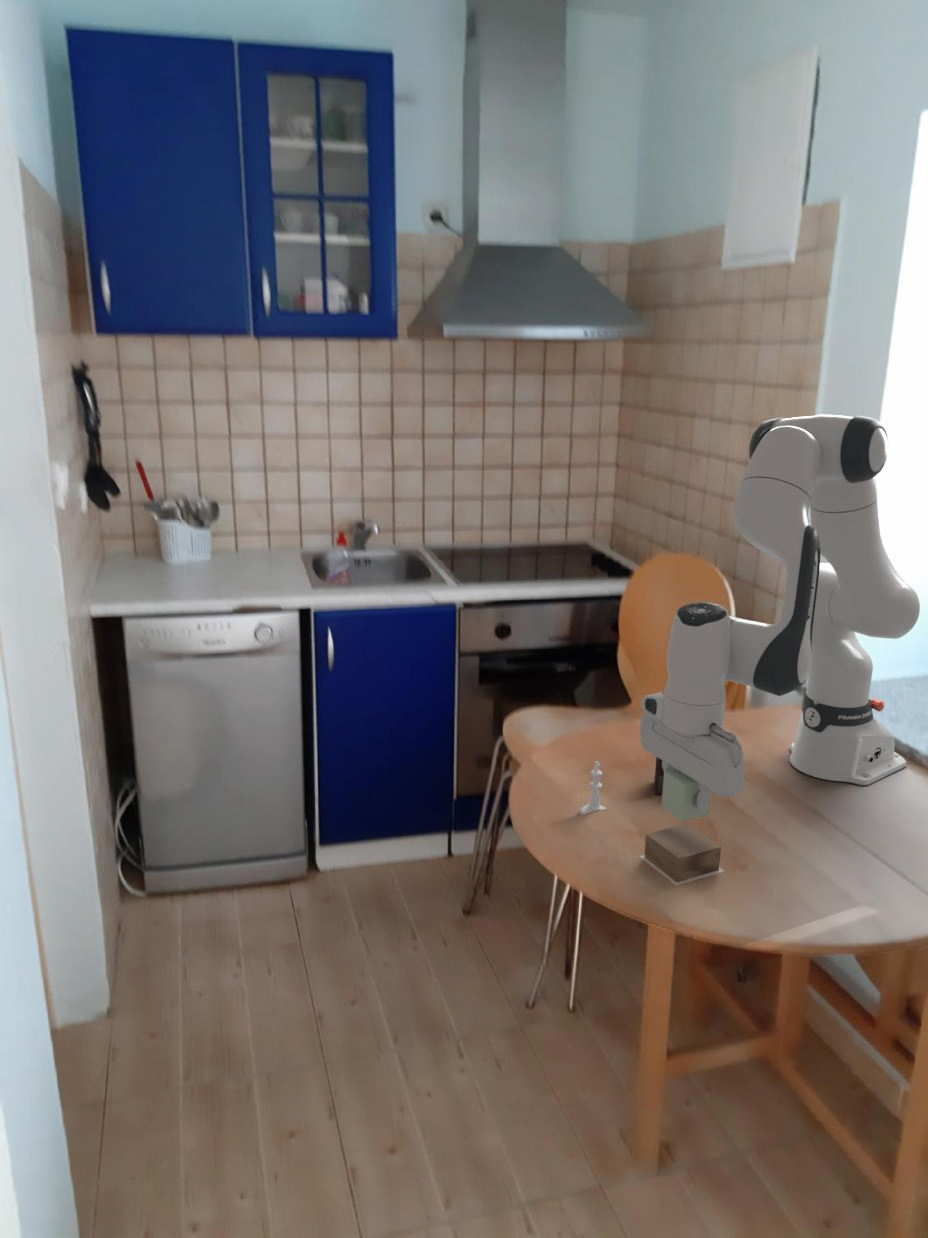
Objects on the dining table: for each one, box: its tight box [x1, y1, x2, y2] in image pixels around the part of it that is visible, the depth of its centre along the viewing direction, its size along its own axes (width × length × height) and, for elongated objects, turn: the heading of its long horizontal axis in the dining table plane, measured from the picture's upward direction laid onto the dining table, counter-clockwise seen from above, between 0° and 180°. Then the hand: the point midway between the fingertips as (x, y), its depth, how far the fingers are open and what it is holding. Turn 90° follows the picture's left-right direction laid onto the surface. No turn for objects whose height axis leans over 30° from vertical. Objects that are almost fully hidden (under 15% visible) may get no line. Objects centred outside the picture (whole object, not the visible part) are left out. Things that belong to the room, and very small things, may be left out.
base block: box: [644, 823, 722, 882], centre depth 146 cm, size 8×8×4 cm
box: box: [653, 756, 664, 796], centre depth 173 cm, size 6×6×7 cm
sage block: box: [660, 768, 711, 822], centre depth 143 cm, size 5×5×6 cm
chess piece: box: [579, 760, 607, 816], centre depth 163 cm, size 5×5×10 cm
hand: (686, 798), depth 144 cm, fingers closed on sage block, 5 cm apart
